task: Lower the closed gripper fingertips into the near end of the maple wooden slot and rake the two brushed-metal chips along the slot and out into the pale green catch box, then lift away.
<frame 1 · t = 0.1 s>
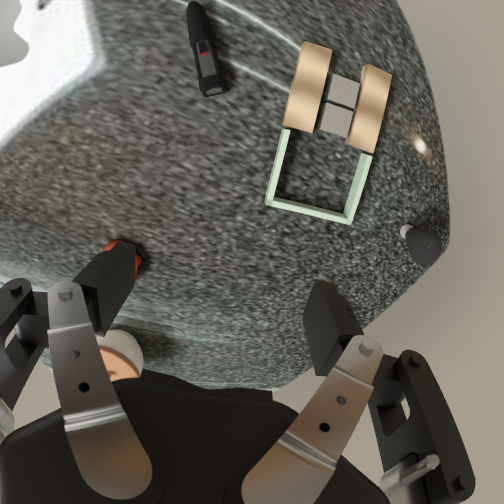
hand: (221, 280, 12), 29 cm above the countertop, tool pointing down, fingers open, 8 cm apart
slot rails: (337, 97, 33), on the countertop
light bulb: (403, 228, 42), on the countertop
electric trimmer: (204, 51, 30), on the countertop
tomato: (123, 258, 44), on the countertop
metal chip 2: (331, 120, 35), on the countertop
metal chip 1: (338, 92, 33), on the countertop
catch box: (316, 175, 38), on the countertop
lidded bowl: (123, 340, 53), on the countertop
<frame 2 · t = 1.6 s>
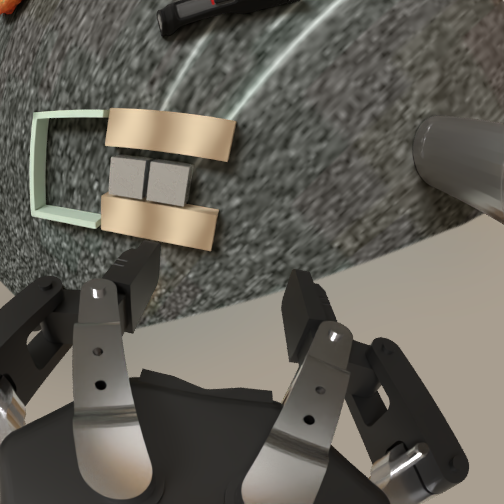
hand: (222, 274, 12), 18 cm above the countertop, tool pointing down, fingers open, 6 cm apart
slot rails: (163, 174, 27), on the countertop
electric trimmer: (227, 6, 19), on the countertop
metal chip 2: (135, 173, 27), on the countertop
metal chip 1: (173, 179, 28), on the countertop
catch box: (71, 163, 26), on the countertop
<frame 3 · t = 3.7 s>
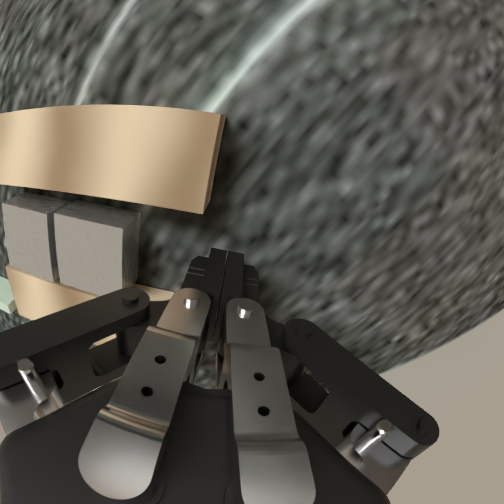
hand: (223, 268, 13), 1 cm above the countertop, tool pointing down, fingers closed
slot rails: (90, 231, 13), on the countertop
metal chip 2: (49, 225, 13), on the countertop
metal chip 1: (108, 238, 14), on the countertop
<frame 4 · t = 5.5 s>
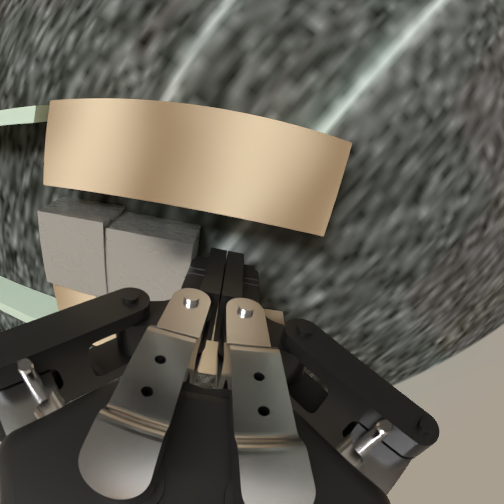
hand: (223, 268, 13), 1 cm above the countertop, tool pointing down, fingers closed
slot rails: (171, 245, 13), on the countertop
metal chip 2: (93, 235, 13), on the countertop
metal chip 1: (159, 252, 14), on the countertop, touching gripper
catch box: (5, 210, 12), on the countertop
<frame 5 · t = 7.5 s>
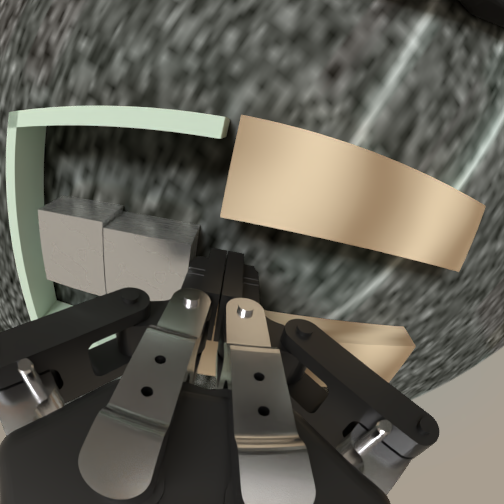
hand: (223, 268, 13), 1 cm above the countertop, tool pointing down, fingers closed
slot rails: (336, 278, 14), on the countertop
metal chip 2: (93, 233, 13), on the countertop
metal chip 1: (158, 252, 14), on the countertop
catch box: (107, 234, 13), on the countertop
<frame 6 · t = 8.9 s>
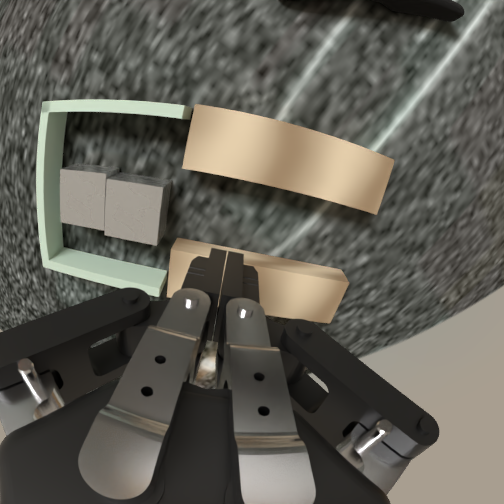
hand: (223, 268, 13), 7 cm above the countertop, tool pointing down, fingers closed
slot rails: (272, 220, 19), on the countertop
metal chip 2: (97, 190, 18), on the countertop
metal chip 1: (143, 201, 19), on the countertop
catch box: (107, 189, 18), on the countertop
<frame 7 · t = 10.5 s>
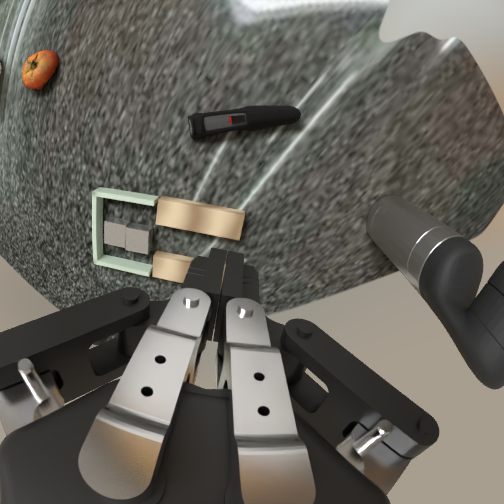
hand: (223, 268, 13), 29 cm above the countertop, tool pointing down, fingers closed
slot rails: (196, 243, 44), on the countertop
electric trimmer: (240, 118, 36), on the countertop
tomato: (45, 69, 29), on the countertop
metal chip 2: (120, 228, 42), on the countertop, touching metal chip 1
metal chip 1: (141, 235, 43), on the countertop, touching metal chip 2
catch box: (125, 229, 42), on the countertop
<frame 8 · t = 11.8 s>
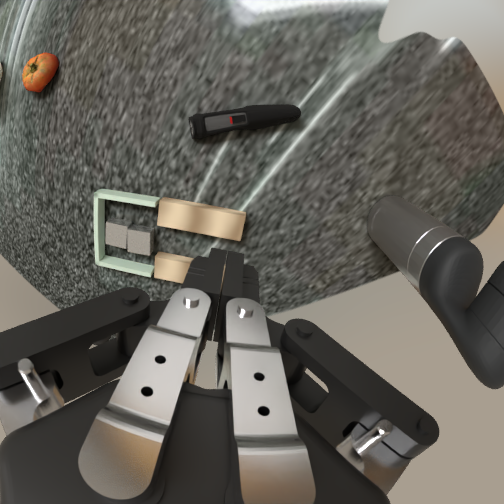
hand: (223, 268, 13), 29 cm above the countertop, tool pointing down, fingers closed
slot rails: (197, 243, 44), on the countertop
electric trimmer: (241, 118, 36), on the countertop
tomato: (45, 72, 29), on the countertop
metal chip 2: (122, 229, 43), on the countertop
metal chip 1: (143, 236, 43), on the countertop
catch box: (127, 230, 43), on the countertop
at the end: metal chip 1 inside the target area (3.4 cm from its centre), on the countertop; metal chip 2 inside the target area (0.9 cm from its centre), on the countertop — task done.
